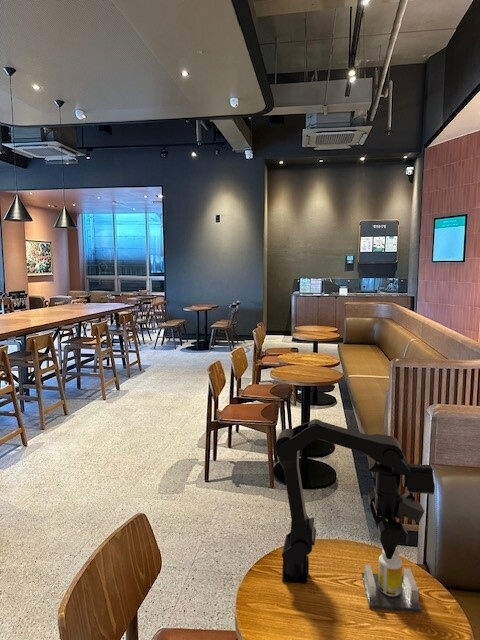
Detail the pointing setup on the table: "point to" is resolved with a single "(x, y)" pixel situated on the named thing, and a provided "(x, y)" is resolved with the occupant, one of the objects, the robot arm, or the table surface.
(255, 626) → the table surface
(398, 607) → the grey u-shaped holder
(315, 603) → the table surface
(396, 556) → the supplement bottle
